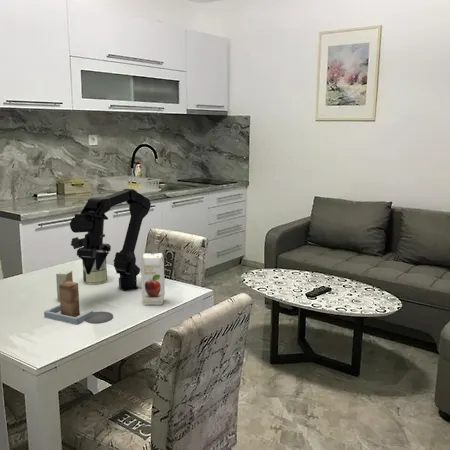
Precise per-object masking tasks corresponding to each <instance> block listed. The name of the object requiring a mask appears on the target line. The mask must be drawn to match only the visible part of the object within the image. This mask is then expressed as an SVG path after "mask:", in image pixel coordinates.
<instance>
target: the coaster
mask: <svg viewBox="0 0 450 450" xmlns="http://www.w3.org/2000/svg"><path fill="white" fill-rule="evenodd" d="M113 318H114V314H113V313H112V312H109V311H93V316H91V317H89V318H87V319H85V321H84V322H85V323H88V324H103V323H106V322H109V321H112V319H113Z"/></svg>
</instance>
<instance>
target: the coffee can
mask: <svg viewBox="0 0 450 450" xmlns="http://www.w3.org/2000/svg"><path fill="white" fill-rule="evenodd" d="M94 257H95V256H94ZM81 261H82V276H83V277H82V279H83V283H84V284H86V285H91V286H92V285H94V286H95V285H101V284H104V283H106V282H108V270H107V267H108V266H107V257H106V258H105V260H104V262H103V264H102V266H101V268H100V270H96V260H95V262H94V265H93V267H92V270H91V273H90V274H87V273H86V269H85V265H84V262H83V260H82V259H81Z"/></svg>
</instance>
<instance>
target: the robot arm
mask: <svg viewBox="0 0 450 450" xmlns="http://www.w3.org/2000/svg"><path fill="white" fill-rule="evenodd" d="M125 202H126V204H128V206H129V207H128V211H129V213H130V214H129V215H130V220H129V222H128V226H127V229H126V234H125V237H124V241H123V246H122V249H121V250H120V251H117V252H116V253H115V255H114V259H113V261H112V262H113V267H114V270H115V272H116V274H118V275H119V277H118V288H119V289H120V290H122V291H123V292H125V291H132V290H137V289H139V286H138V284H137V283H138V282H137V281H138V280H137V276H138V275H139V274H140V273H141V268H140V267H139V266H138V265H137V264H136V262H137V259H136V255H135V250H136V246H137V242H138V238H139V235H140V231H141V226H142V223H143V219H144V218H146V217H147V215H148V214H149V211H150V209H151V207H152V202H151V201H150V199H149V198H148V197H146V196H144V195H143V194H141V193H139V192H137V190H135V189H134V188H124V189H122V190H120V191H118V192H114V193H111V194H108V195H106V196H98V197H90V198H88V199H87V202H86V204H85V205H84V206H83V208H82V210H81V212H80V213H74V217H72V218H71V220H70V222H69V227H70V230H71V231H72V232H73V233H76V234H77V233H79V234H80V233H85V234H84V238H79V237H78V236H76V237H73V238H71V241H70V246H71V247H72V248H73V249H74V250H76V257H78V258H79V259H81V261H82V260H83V262H84V265H85V269H86V273H87V274H90V273H91V270H92V267H93V265H94V262H95V260H96V270H100V268H101V266H102V264H103V262H104V260H105V258H106V259H107V256H108V255H109V254H110V252H111V249H112V248H111V247H112V246H111V245H110V243H105V242H104V238H105V237H106V234H104V227H105V225H104V224H105V221H106V220H109V217H108V216H107V215H106V213H108V212H109V211H110V210H111V208H113V207H115V206H117V205H119V204H122V203H125ZM94 256H95V257H94ZM83 262H82V263H83Z"/></svg>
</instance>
